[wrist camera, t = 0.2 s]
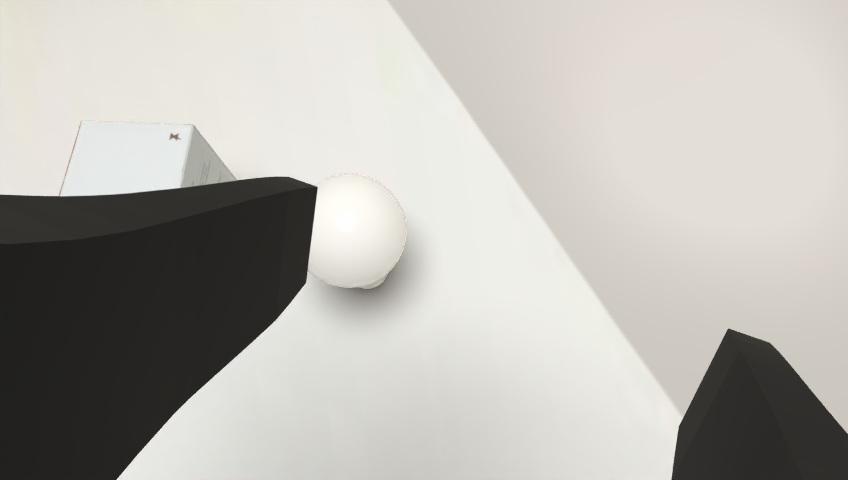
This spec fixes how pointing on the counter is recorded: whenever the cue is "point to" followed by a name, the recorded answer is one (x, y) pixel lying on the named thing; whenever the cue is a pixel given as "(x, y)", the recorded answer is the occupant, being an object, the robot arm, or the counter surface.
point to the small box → (140, 159)
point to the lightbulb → (355, 232)
